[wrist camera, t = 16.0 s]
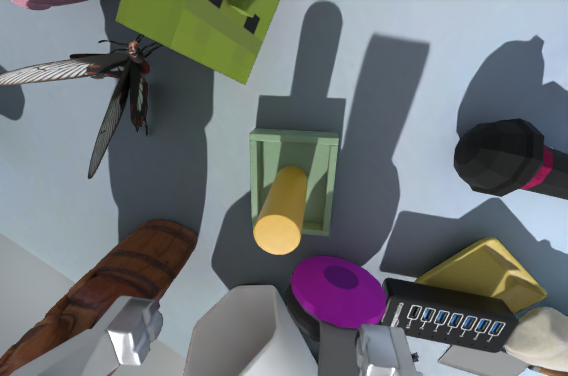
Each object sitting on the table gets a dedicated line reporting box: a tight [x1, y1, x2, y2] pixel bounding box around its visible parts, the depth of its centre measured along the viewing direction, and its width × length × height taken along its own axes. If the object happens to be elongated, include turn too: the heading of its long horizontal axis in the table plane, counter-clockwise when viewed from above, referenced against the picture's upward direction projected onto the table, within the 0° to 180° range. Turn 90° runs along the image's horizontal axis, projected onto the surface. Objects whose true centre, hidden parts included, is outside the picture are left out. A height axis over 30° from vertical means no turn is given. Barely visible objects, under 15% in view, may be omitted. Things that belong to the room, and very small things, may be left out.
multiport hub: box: [382, 278, 519, 353], centre depth 26 cm, size 4×11×2 cm, turn 83°
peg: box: [253, 166, 308, 255], centre depth 21 cm, size 3×3×9 cm
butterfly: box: [0, 34, 163, 179], centre depth 21 cm, size 11×8×10 cm
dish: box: [250, 128, 339, 237], centre depth 25 cm, size 9×7×2 cm
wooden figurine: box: [0, 220, 197, 376], centre depth 23 cm, size 12×6×18 cm, turn 133°
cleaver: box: [438, 345, 568, 376], centre depth 32 cm, size 13×1×5 cm
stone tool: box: [504, 307, 568, 372], centre depth 27 cm, size 8×4×15 cm
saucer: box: [414, 237, 547, 314], centre depth 27 cm, size 9×9×2 cm
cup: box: [183, 285, 318, 376], centre depth 30 cm, size 11×10×17 cm
